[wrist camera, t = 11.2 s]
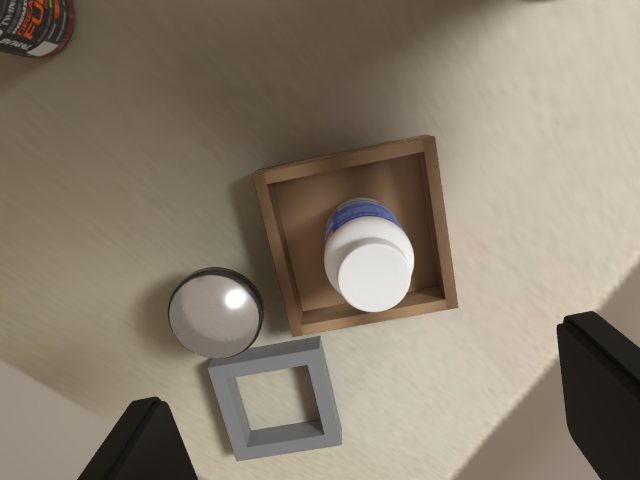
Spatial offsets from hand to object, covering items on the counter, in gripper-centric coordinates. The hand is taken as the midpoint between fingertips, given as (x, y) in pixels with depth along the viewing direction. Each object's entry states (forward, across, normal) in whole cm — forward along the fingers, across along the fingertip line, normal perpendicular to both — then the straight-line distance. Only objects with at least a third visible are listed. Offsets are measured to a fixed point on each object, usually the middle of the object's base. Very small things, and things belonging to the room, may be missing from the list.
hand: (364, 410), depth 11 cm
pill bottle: (+24, -1, +2) cm, 24 cm away
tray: (+24, 0, +2) cm, 24 cm away
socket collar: (+24, +9, +15) cm, 29 cm away
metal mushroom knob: (+24, +10, +5) cm, 26 cm away
